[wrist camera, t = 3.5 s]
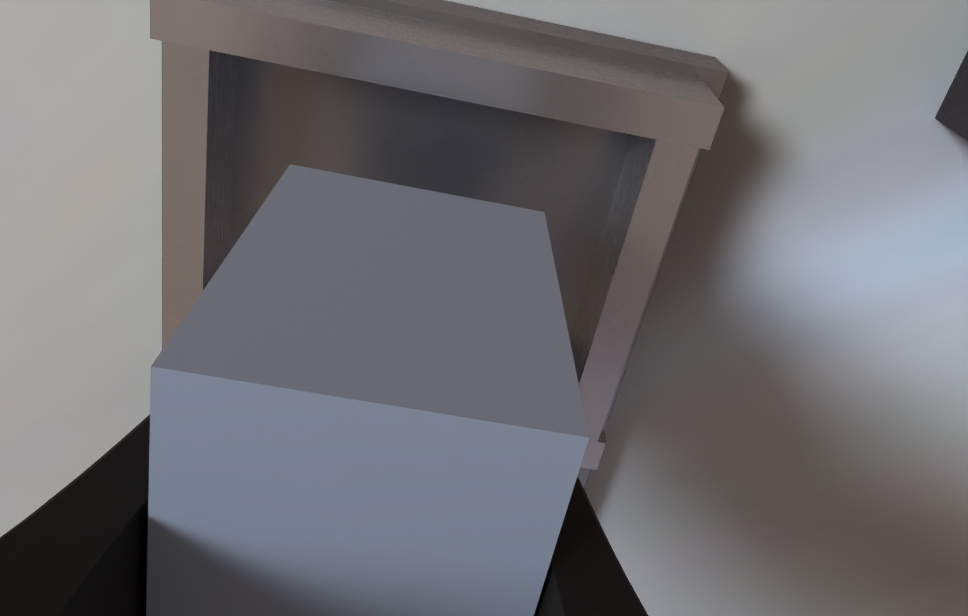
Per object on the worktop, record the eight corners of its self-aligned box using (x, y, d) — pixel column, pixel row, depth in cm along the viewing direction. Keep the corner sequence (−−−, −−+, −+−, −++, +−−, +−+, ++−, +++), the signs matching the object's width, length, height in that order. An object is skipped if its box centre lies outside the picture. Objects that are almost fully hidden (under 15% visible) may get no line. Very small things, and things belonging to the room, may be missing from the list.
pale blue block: (482, 463, 15) (484, 774, 10) (264, 429, 15) (143, 732, 10) (544, 212, 13) (589, 437, 8) (290, 164, 13) (151, 366, 7)
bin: (530, 607, 26) (534, 713, 23) (176, 554, 25) (131, 658, 22) (714, 57, 17) (761, 108, 14) (182, -55, 16) (109, -26, 13)
